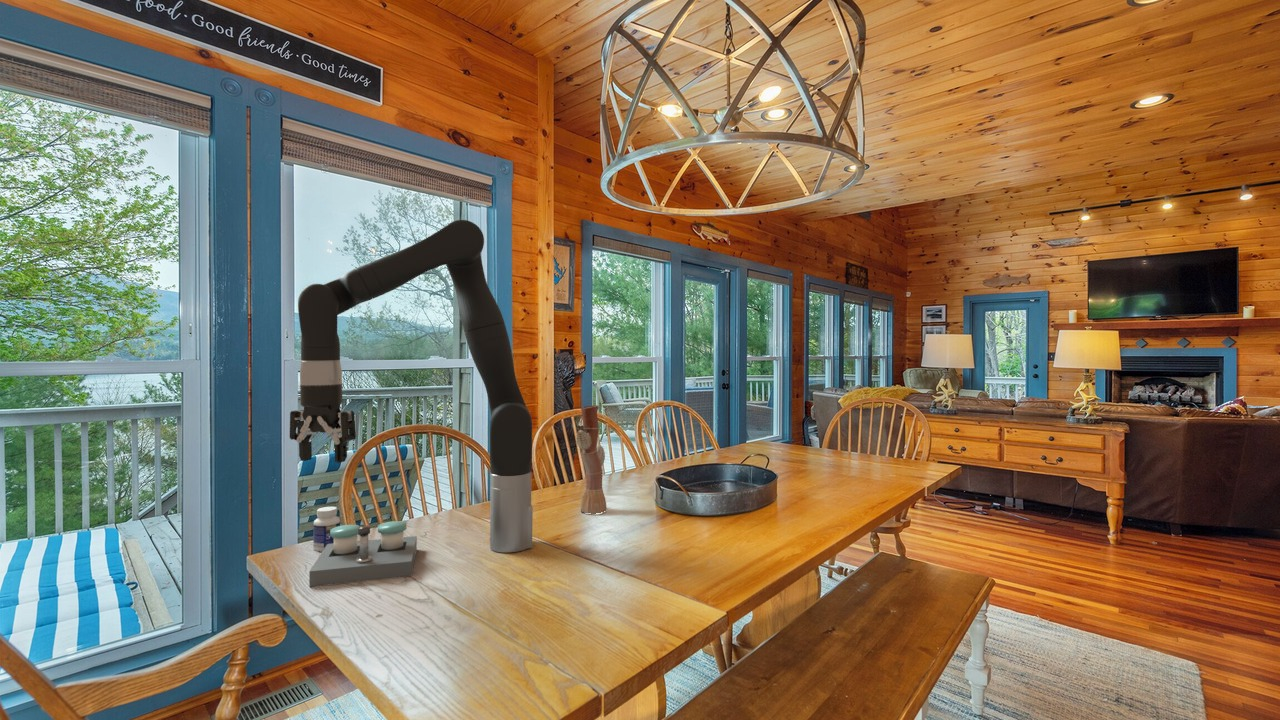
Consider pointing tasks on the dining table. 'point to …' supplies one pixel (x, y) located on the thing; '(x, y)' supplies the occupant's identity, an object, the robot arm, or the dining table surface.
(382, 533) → the knob
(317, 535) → the pill bottle
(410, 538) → the mount board
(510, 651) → the dining table surface
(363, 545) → the post
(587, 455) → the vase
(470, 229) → the robot arm
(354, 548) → the knob
